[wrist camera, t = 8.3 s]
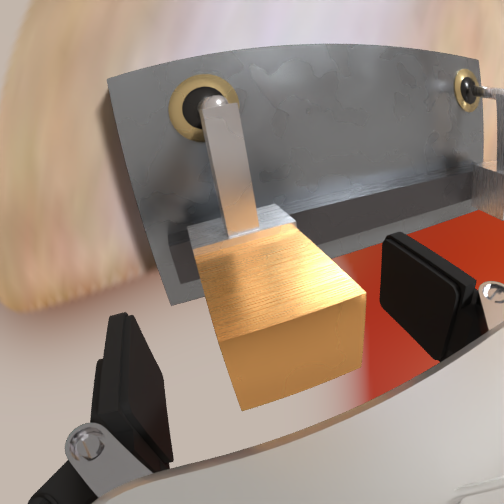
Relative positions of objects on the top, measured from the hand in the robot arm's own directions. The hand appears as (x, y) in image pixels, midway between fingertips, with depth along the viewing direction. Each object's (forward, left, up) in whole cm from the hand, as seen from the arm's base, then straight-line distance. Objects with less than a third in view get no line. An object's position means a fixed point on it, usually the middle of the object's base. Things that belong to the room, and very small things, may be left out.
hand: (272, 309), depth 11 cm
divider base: (-8, -3, -8) cm, 12 cm away
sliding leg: (0, -3, -6) cm, 6 cm away
